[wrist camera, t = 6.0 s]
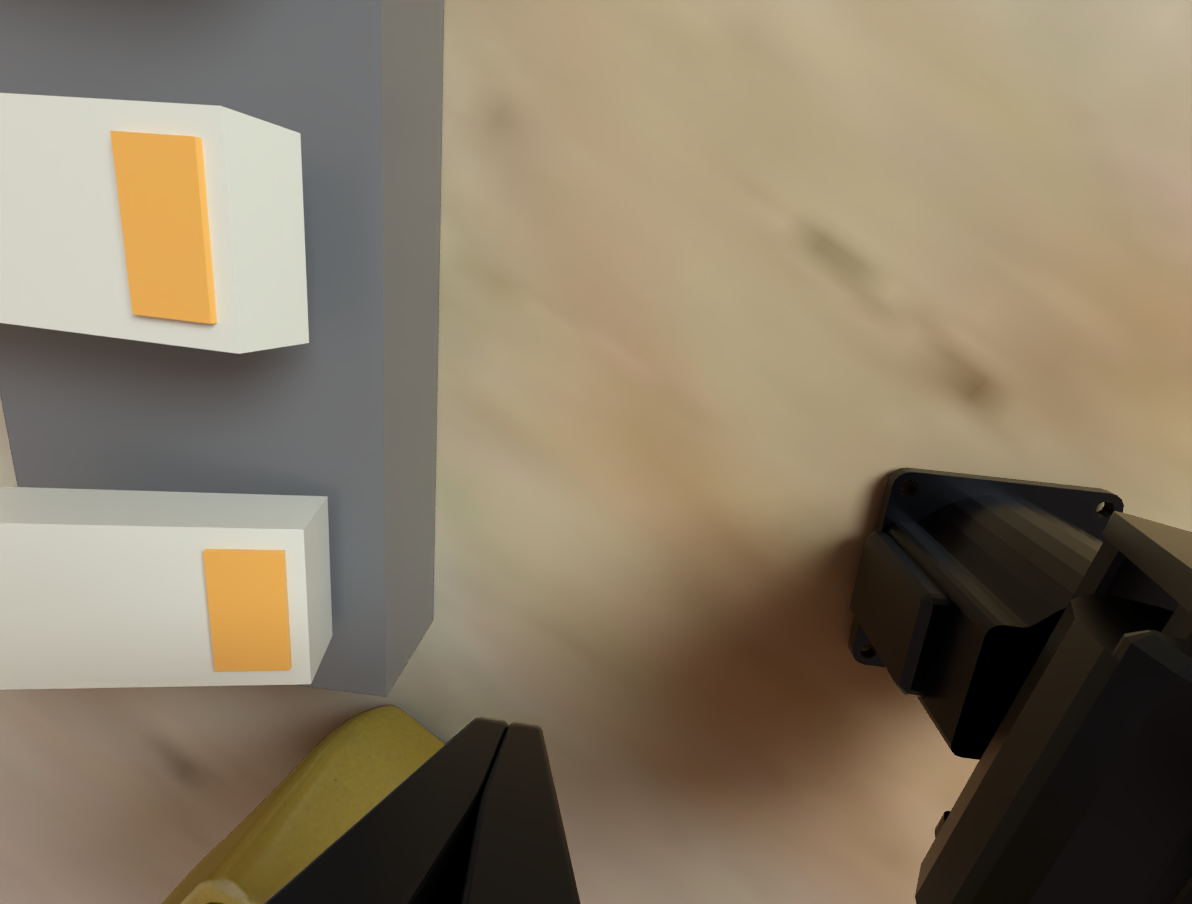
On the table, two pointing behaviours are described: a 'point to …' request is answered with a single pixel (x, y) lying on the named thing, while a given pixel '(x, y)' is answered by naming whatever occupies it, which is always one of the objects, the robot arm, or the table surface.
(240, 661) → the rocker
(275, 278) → the block
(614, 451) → the table surface
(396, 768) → the flower pot
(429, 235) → the power strip
